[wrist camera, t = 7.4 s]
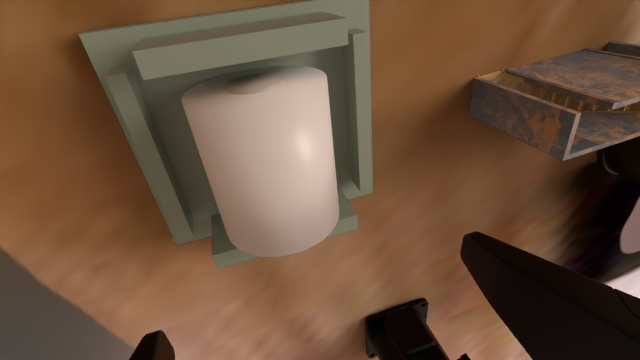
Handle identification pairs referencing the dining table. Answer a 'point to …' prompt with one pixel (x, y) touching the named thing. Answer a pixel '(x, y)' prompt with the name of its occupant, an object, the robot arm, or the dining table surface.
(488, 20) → the dining table surface
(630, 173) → the french press
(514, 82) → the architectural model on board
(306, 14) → the holder
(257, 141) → the roll
